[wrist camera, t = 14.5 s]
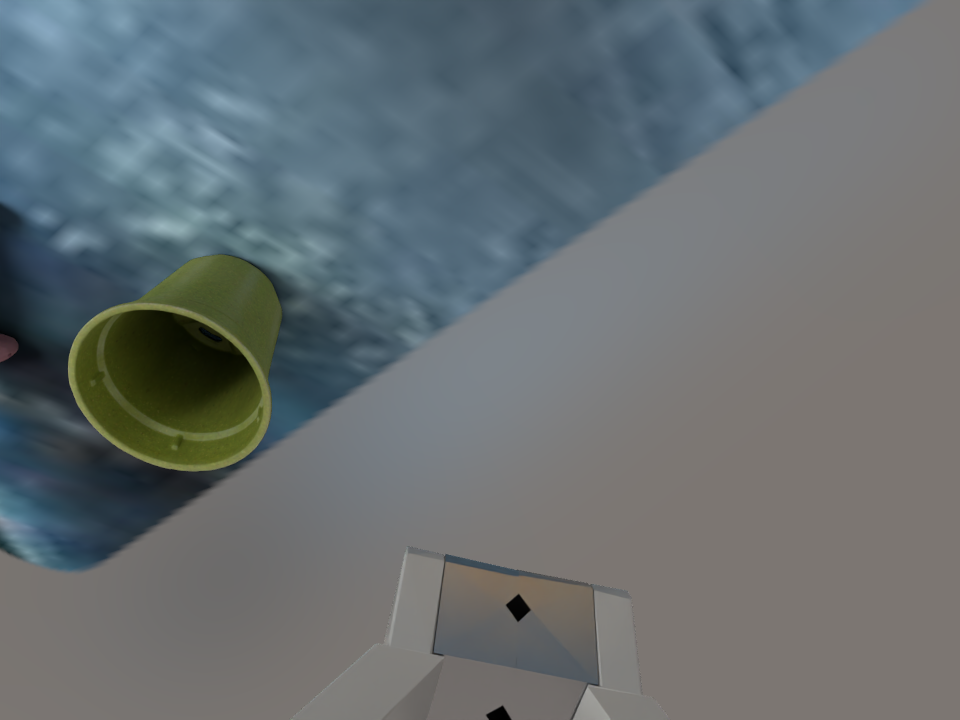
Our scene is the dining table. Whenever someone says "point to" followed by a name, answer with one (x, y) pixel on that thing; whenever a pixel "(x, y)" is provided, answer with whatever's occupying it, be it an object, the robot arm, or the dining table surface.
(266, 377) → the plant pot
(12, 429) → the dining table surface
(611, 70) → the dining table surface
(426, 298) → the dining table surface
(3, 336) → the pink arch
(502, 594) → the robot arm
